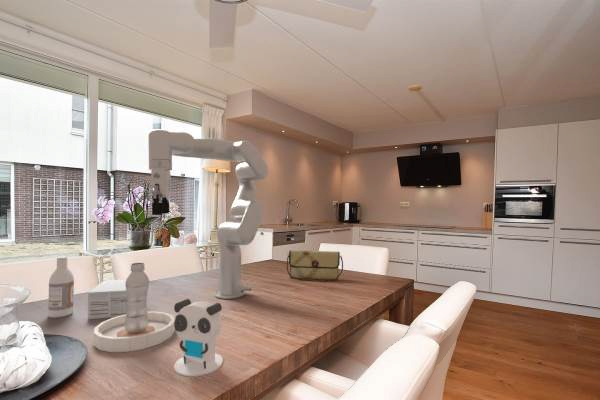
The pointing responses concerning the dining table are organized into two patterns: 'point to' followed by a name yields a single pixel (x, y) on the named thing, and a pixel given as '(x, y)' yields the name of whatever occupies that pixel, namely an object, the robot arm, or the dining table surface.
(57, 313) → the bath foam
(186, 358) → the panda figurine
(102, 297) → the supplement box
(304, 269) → the clutch purse
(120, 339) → the round tray
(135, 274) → the plastic bottle
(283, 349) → the dining table surface
